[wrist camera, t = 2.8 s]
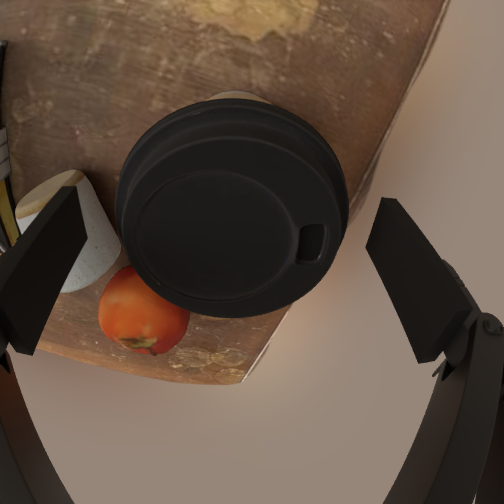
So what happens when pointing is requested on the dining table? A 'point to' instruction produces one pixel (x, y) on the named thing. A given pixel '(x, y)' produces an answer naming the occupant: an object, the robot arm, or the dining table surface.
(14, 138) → the dining table surface
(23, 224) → the ceramic mug
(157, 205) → the coffee cup
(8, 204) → the book
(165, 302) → the tomato
